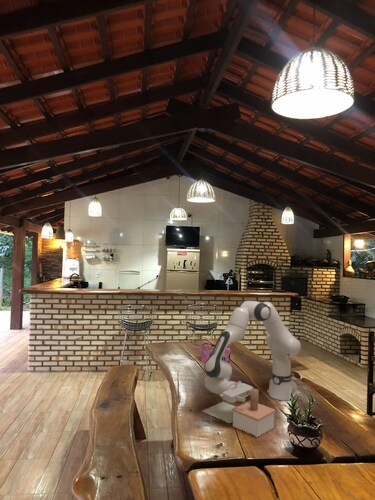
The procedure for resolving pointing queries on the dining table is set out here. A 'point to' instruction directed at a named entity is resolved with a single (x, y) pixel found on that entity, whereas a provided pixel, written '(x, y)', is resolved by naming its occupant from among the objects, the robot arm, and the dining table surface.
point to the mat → (221, 411)
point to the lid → (254, 408)
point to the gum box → (207, 350)
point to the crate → (253, 424)
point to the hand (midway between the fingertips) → (250, 397)
